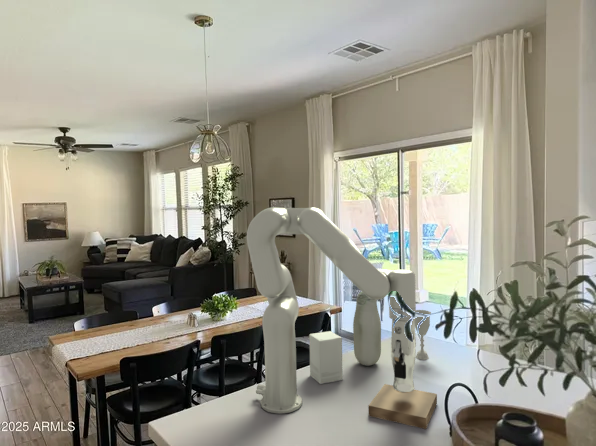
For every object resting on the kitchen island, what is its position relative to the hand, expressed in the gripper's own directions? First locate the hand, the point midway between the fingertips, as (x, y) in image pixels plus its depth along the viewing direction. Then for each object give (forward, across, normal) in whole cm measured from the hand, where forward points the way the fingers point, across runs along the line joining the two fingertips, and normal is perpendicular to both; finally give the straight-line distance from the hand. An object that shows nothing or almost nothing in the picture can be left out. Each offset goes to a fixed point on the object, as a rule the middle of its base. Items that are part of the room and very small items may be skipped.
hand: (403, 372), depth 120 cm
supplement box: (+11, +11, +30) cm, 34 cm away
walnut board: (+11, 0, 0) cm, 11 cm away
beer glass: (+5, 0, 0) cm, 5 cm away
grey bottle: (+11, +29, +21) cm, 37 cm away
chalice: (+11, +45, +4) cm, 47 cm away
